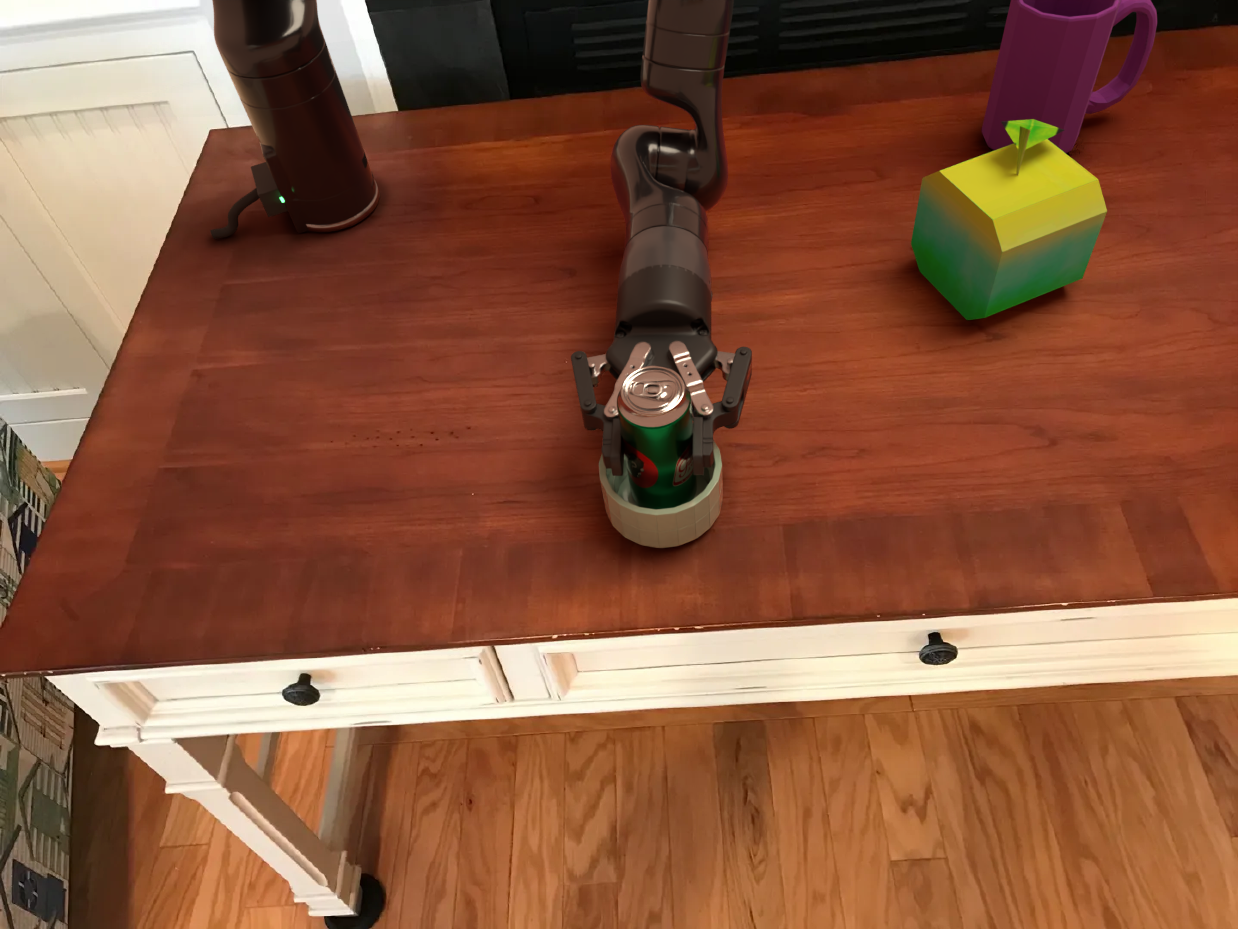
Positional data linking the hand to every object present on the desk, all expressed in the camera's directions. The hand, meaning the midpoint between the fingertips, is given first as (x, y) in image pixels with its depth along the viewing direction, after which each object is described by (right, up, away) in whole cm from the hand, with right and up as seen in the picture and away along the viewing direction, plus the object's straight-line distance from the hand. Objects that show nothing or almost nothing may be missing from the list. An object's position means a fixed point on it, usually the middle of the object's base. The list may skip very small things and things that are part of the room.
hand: (657, 468), depth 68 cm
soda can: (+1, -2, +7) cm, 7 cm away
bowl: (+1, -3, +8) cm, 8 cm away
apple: (+30, +17, +19) cm, 40 cm away
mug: (+42, +34, +31) cm, 62 cm away
